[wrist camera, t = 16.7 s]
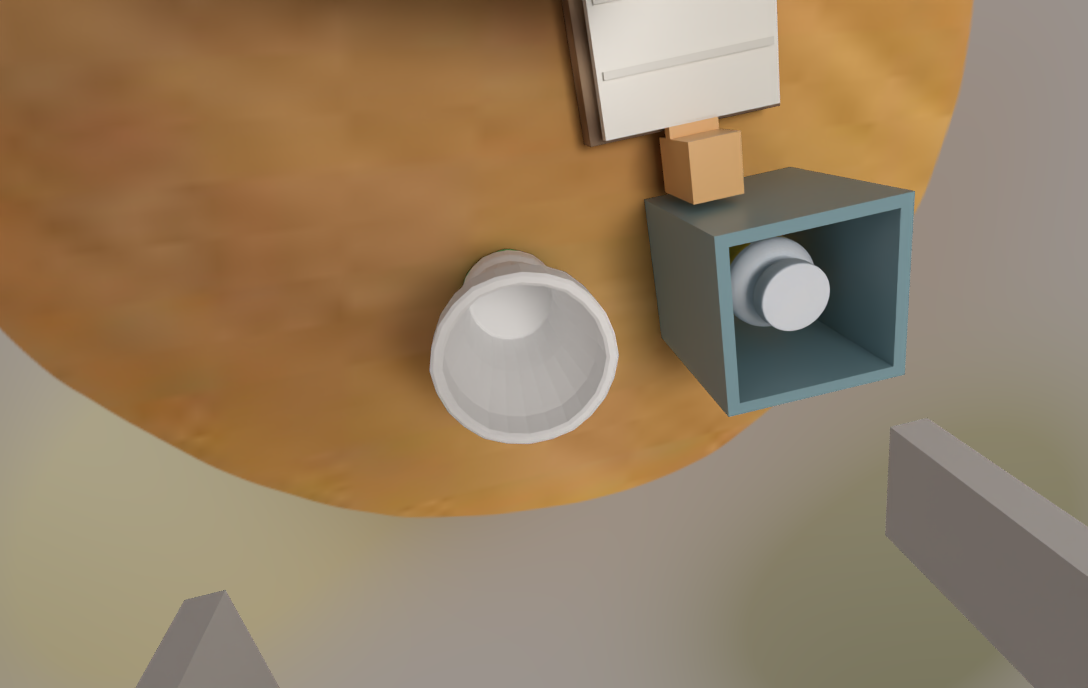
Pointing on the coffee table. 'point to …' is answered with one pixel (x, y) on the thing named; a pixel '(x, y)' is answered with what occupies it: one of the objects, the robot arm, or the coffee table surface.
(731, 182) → the lid
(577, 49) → the board
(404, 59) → the coffee table surface
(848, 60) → the coffee table surface
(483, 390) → the cup
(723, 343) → the tub
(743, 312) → the pill bottle
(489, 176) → the coffee table surface
